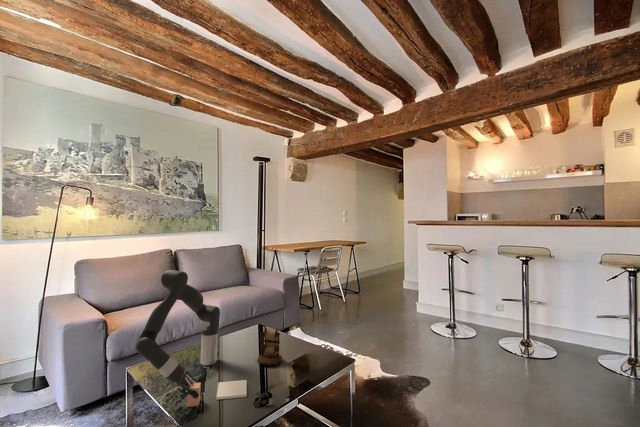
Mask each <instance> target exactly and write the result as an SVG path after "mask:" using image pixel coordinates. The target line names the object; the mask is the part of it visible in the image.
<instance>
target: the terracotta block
mask: <svg viewBox="0 0 640 427" xmlns="http://www.w3.org/2000/svg"><path fill="white" fill-rule="evenodd" d="M190 384H191V387H192V388H193V390H195V391H196V392H197V393H198V394H199V396H198V397H197V398H196V399H195V398H193V397H192V396H191V395H190V394H188V395H186V396H187V397H186V407H187V408H188V407H198V406H200V401H201V388H202V387H201V386H202V383H201V382H195V383H190ZM189 389H190V388H189Z"/></svg>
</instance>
